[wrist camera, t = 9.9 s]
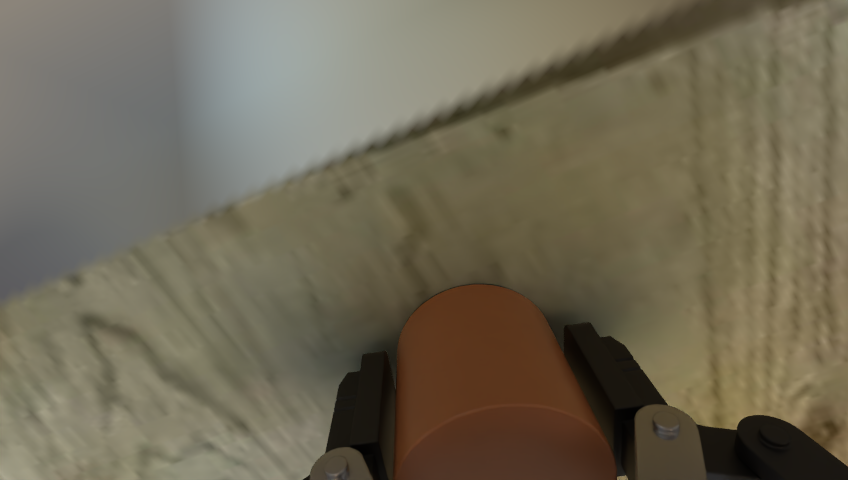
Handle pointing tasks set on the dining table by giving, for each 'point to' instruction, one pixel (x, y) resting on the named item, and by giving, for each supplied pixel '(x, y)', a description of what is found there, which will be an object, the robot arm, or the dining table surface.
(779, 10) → the dining table surface
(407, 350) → the copper tin
